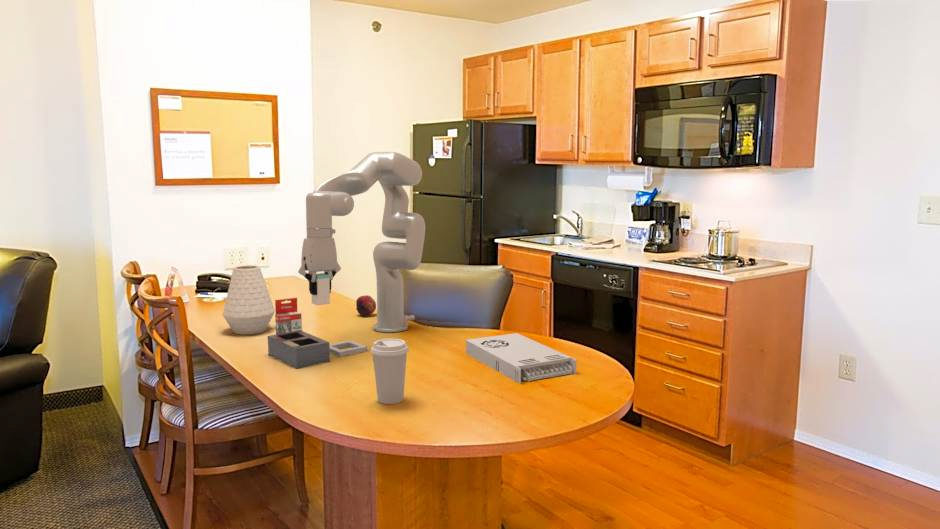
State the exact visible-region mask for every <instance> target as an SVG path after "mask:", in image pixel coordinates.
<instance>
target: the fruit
mask: <svg viewBox="0 0 940 529" xmlns="http://www.w3.org/2000/svg"><path fill="white" fill-rule="evenodd" d="M355 302H356V303H355V304H356V306H355V307H356V308H355V310H356V311H357V313H358V314H359V316H360V315H361V316H362V317H368V316H370V315H372V314H373V313H374V312H375V311H376V310H377V301H376V300H375V299H374V298H373V297H372V296H371V295H368V294H367V295H360V296H358V297H357V298H356V301H355Z"/></svg>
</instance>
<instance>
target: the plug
mask: <svg viewBox="0 0 940 529" xmlns="http://www.w3.org/2000/svg"><path fill="white" fill-rule="evenodd" d="M315 282H317V295H312V294H311V304H312V305H315V306H323V305H324V306H325V305H331V302H330V301H331V293H330V278H329V274H324V273H323V272H322V273H320V272H319V273H316V278H315Z"/></svg>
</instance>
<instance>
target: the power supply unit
mask: <svg viewBox="0 0 940 529" xmlns="http://www.w3.org/2000/svg"><path fill="white" fill-rule="evenodd" d="M465 353H466V354H467V355H468V356H469V357H472V358H474V359H476V360H477V361H479V362H480V363H481V364H484V365H486V366H487V367H488V368H489V367H490V368H491V369H493V370H495V371H497V372H498V373H500V374H501V375H503V376H505V377H507V378H509V379H511V380H512V381H514V382H515V383H518V385H519V384H520V385H521V384H522V381H527V382H532V381H536V380H537V381H538V380H544V379H549V378H554V377H560V376H565V375H573V374H574V375H577V359H576V358H574V357H572V356H569V355H567V354H565V353H562V352H561V351H558V350H556V349H554V348H552V347H549V346H547V345H544V344H543V343H540V342H538V341H537V340H533V339H531V338H529V337H526V336H524V335H522V334H520V333H519V332H516V333H509V334H508V333H507V334H499V335H491V336H486V337H479V338H471V339H466V340H465Z"/></svg>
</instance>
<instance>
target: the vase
mask: <svg viewBox="0 0 940 529" xmlns="http://www.w3.org/2000/svg"><path fill="white" fill-rule="evenodd" d="M262 272H263V271H262V269H261V266H259V265H253V264H251V265H250V264H249V265H246V264H245V265H239V266H234V267H233V270H232V272H231V277H230V281H229V282H230V283H229V285H228V286H229V287H228V289H227V295H226V299H225V304H224V307H223V310H222V317H223V318H224V320H225V321H226V323H227V324H228V325H229V327H230V329H231V330H232V332H233V333H234V334H236V335H240V336H249V335H250V336H251V335H257V334H261V333H264V332H266V331H267V328H268V327H269V325H270V323H271V320H272V319H273V317H274V316H275V313H276V310H275V308H274V304H273V302H272V299H271V296H270V292H269V290H268V287H267V285H266V281H265V278H264V276H263V273H262Z"/></svg>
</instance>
